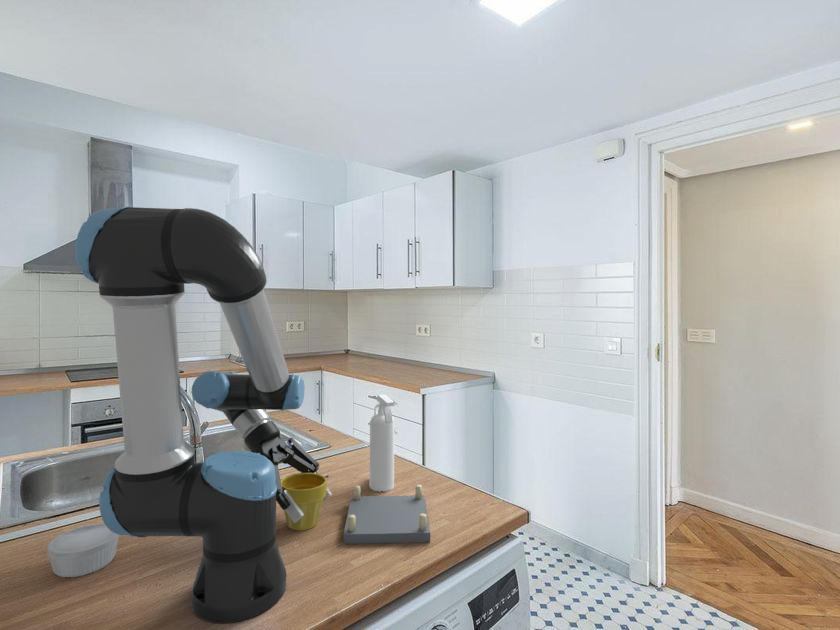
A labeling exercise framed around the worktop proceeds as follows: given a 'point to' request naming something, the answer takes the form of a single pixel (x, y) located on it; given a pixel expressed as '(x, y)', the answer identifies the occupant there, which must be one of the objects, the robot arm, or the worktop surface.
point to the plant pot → (305, 497)
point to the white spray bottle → (382, 446)
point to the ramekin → (82, 550)
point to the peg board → (387, 519)
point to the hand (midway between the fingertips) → (314, 508)
